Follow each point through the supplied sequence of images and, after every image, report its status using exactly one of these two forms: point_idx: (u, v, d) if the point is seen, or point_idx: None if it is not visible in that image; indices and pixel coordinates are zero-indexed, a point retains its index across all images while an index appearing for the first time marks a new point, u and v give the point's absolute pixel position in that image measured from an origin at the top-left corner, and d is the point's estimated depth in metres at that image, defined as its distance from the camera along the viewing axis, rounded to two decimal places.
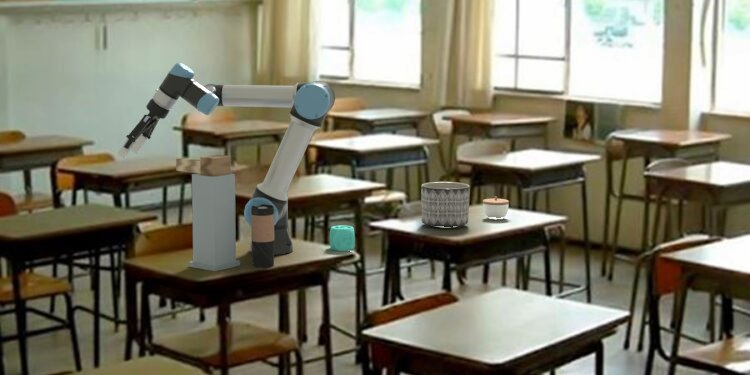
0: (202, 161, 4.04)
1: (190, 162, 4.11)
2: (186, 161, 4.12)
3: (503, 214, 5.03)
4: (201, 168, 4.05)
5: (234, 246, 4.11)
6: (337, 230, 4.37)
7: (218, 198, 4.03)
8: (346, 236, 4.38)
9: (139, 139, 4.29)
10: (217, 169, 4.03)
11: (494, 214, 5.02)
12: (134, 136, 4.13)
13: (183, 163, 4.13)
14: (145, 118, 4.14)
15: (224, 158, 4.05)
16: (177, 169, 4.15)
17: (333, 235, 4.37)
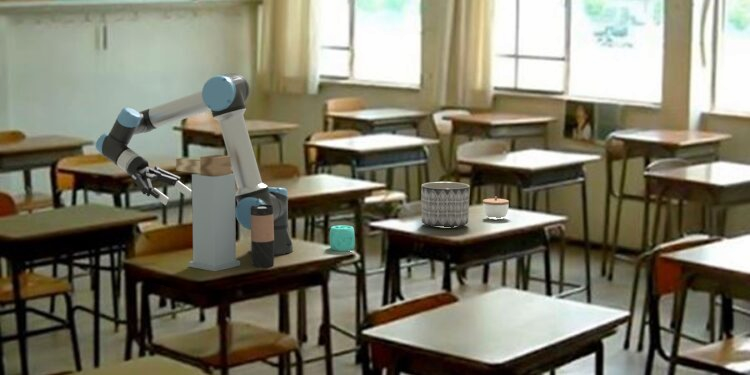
0: (202, 161, 4.04)
1: (190, 162, 4.11)
2: (186, 161, 4.12)
3: (503, 214, 5.03)
4: (201, 168, 4.05)
5: (234, 246, 4.11)
6: (337, 230, 4.37)
7: (218, 198, 4.03)
8: (346, 236, 4.38)
9: (178, 187, 4.32)
10: (217, 169, 4.03)
11: (494, 214, 5.02)
12: (143, 187, 4.18)
13: (183, 163, 4.13)
14: (133, 177, 4.23)
15: (224, 158, 4.05)
16: (177, 169, 4.15)
17: (333, 235, 4.37)
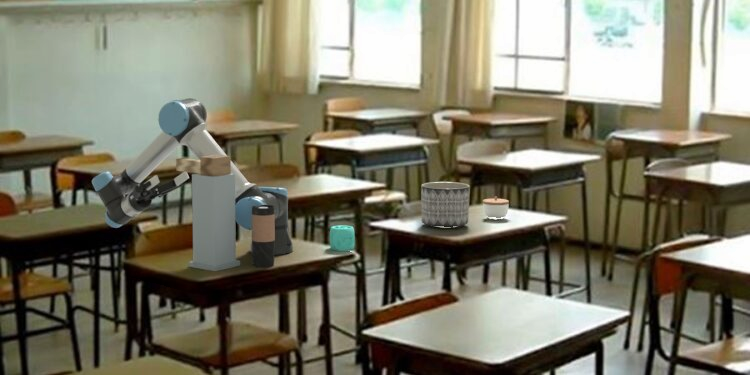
0: (202, 161, 4.04)
1: (190, 162, 4.11)
2: (186, 161, 4.12)
3: (503, 214, 5.03)
4: (201, 168, 4.05)
5: (234, 246, 4.11)
6: (337, 230, 4.37)
7: (218, 198, 4.03)
8: (346, 236, 4.38)
9: (178, 181, 4.27)
10: (217, 169, 4.03)
11: (494, 214, 5.02)
12: (135, 188, 4.17)
13: (183, 163, 4.13)
14: (131, 198, 4.23)
15: (224, 158, 4.05)
16: (177, 169, 4.15)
17: (333, 235, 4.37)
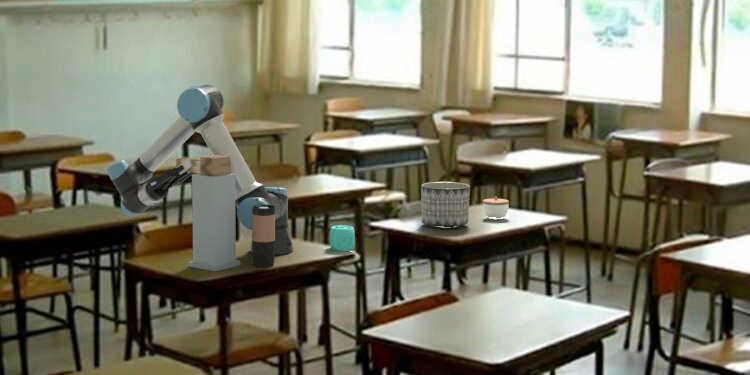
0: (202, 161, 4.04)
1: None
2: None
3: (503, 214, 5.03)
4: (201, 168, 4.05)
5: (234, 246, 4.11)
6: (337, 230, 4.37)
7: (218, 198, 4.03)
8: (346, 236, 4.38)
9: None
10: (217, 169, 4.03)
11: (494, 214, 5.02)
12: (166, 172, 4.13)
13: None
14: (153, 184, 4.16)
15: (224, 158, 4.05)
16: None
17: (333, 235, 4.37)
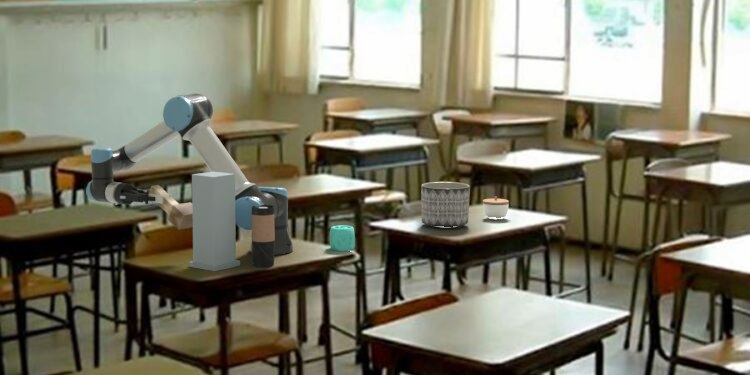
0: (173, 210, 4.15)
1: None
2: None
3: (503, 214, 5.03)
4: (170, 215, 4.16)
5: (234, 246, 4.11)
6: (337, 230, 4.37)
7: (218, 198, 4.03)
8: (346, 236, 4.38)
9: None
10: (184, 223, 4.15)
11: (494, 214, 5.02)
12: (138, 196, 4.23)
13: (156, 194, 4.23)
14: (122, 198, 4.27)
15: None
16: None
17: (333, 235, 4.37)
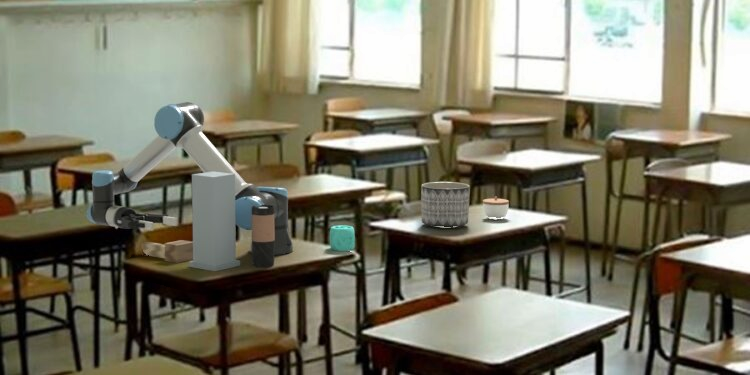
0: (166, 247, 4.19)
1: (155, 247, 4.26)
2: (151, 246, 4.27)
3: (503, 214, 5.03)
4: (165, 254, 4.19)
5: (234, 246, 4.11)
6: (337, 230, 4.37)
7: (218, 198, 4.03)
8: (346, 236, 4.38)
9: (166, 222, 4.31)
10: (181, 255, 4.18)
11: (494, 214, 5.02)
12: (128, 222, 4.23)
13: (149, 247, 4.28)
14: (118, 222, 4.28)
15: (188, 244, 4.20)
16: None
17: (333, 235, 4.37)
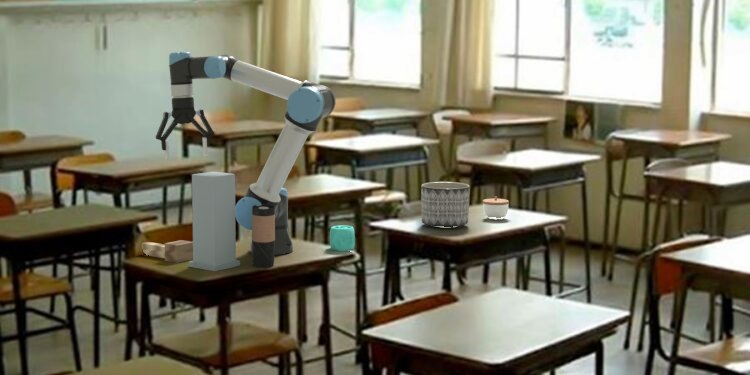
0: (166, 247, 4.19)
1: (155, 247, 4.26)
2: (151, 246, 4.27)
3: (503, 214, 5.03)
4: (165, 254, 4.19)
5: (234, 246, 4.11)
6: (337, 230, 4.37)
7: (218, 198, 4.03)
8: (346, 236, 4.38)
9: (203, 142, 4.30)
10: (181, 255, 4.18)
11: (494, 214, 5.02)
12: (158, 134, 4.22)
13: (149, 247, 4.28)
14: (164, 114, 4.23)
15: (188, 244, 4.20)
16: None
17: (333, 235, 4.37)
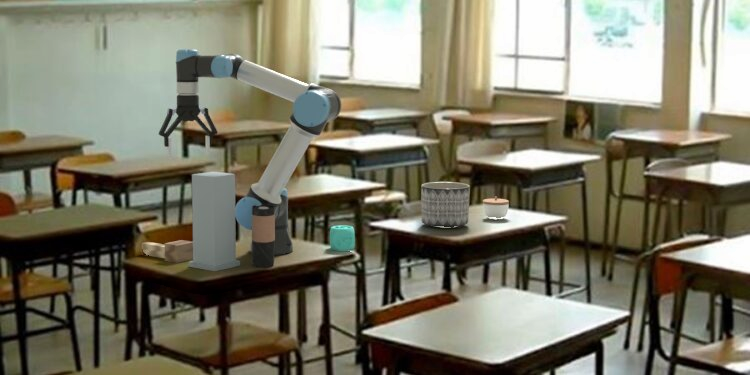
0: (166, 247, 4.19)
1: (155, 247, 4.26)
2: (151, 246, 4.27)
3: (503, 214, 5.03)
4: (165, 254, 4.19)
5: (234, 246, 4.11)
6: (337, 230, 4.37)
7: (218, 198, 4.03)
8: (346, 236, 4.38)
9: (206, 140, 4.29)
10: (181, 255, 4.18)
11: (494, 214, 5.02)
12: (161, 130, 4.21)
13: (149, 247, 4.28)
14: (168, 111, 4.22)
15: (187, 244, 4.20)
16: None
17: (333, 235, 4.37)
